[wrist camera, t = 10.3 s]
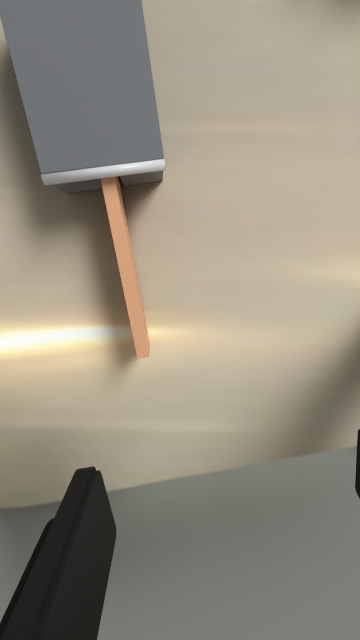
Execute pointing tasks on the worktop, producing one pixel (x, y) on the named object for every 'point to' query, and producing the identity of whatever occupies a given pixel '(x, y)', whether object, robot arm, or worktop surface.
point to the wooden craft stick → (126, 264)
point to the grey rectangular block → (86, 90)
